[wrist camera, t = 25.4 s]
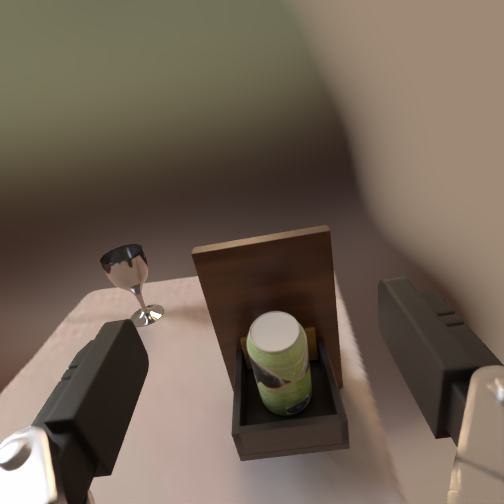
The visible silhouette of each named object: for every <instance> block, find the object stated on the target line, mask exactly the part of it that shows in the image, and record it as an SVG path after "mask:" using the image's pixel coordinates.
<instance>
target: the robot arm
mask: <svg viewBox="0 0 504 504" xmlns="http://www.w3.org/2000/svg"><path fill="white" fill-rule="evenodd" d="M378 320H379V327H380V331H381V335H382V337H383V340H384V342H385V343H386V345H387V347H388V349H389V351H390V353H391V355H392V357H393V359H394V361H395V362H396V364H397V366H398V368H399V370H400V372H401V374H402V376H403V378H404V380H405V381H406V383H407V385H408V387H409V389H410V391H411V393H412V395H413V397H414V398H415V400H416V402H417V404H418V406H419V408H420V410H421V412H422V414H423V416H424V417H425V419H426V421H427V423H428V425H429V427H430V429H431V431H432V433H433V435H434V436H435V438H436V439H439V438H447V437H452V439H453V441H454V443H455V444H456V446H457V452H456V456H455V460H454V466H453V470H452V475H451V480H450V485H449V490H448V495H447V500H446V504H504V365H503V364H502V363H501V362H500V361H499V359H497V357H496V356H495V355H494V354H493V353H492V352H491V351H490V350H489V349H488V347H487V346H486V345H485V344H484V343H483V342H482V341H481V340H480V339H479V338H478V337H477V335H476V334H475V333H474V332H473V331H472V330H471V329H470V328H469V327H468V325H467V324H466V325H465V324H464V321H463V320H462V319H461V318H460V317H459V316H458V314H455V311H454V310H453V309H452V308H451V307H450V306H449V305H448V303H447V302H446V301H445V300H444V299H442V298H440V297H439V296H437V295H435V294H433V293H431V292H430V291H428V290H425V291H419V292H418V290H417V289H416V288H415V287H414V286H413V284H412V283H411V282H410V281H409V280H408V278H406V277H400V278H394V279H387V280H381V281H379V284H378ZM148 367H149V360H148V354H147V352H146V349H145V347H144V345H143V343H142V340H141V338H140V336H139V334H138V332H137V329H136V327H135V325H134V323H133V321H132V320H130V319H126V320H119V321H113V322H107V323H105V324H104V325H103V326H102V328H101V330H100V331H99V333H98V334H97V336H96V338H95V339H94V340H91V341H90V342H89V343H88V344H87V345H86V346H85V347H84V348H83V349H81V350H80V351H79V352H78V353H77V355H76V356H75V358H74V359H73V361H72V362H71V364H70V366H69V369H68V370H66V372H65V373H64V375H63V376H62V378H61V381H59V383H58V384H57V386H56V387H55V389H54V390H53V392H52V394H51V395H50V397H49V398H48V400H47V401H46V403H45V404H44V406H43V408H42V409H41V411H40V412H39V414H38V415H37V417H36V418H35V420H34V421H33V423H32V425H31V426H30V427H26V428H23V429H20V430H18V431H16V432H14V433H12V434H11V435H9V436H8V437H6V438H5V439H4V440H2V441H1V442H0V504H95V502H94V498H93V495H92V493H91V491H90V490H89V488H90V485H91V482H92V480H93V477H101V476H109V475H111V474H112V471H113V468H114V465H115V463H116V460H117V457H118V454H119V451H120V448H121V446H122V443H123V440H124V437H125V434H126V432H127V429H128V426H129V423H130V420H131V418H132V415H133V412H134V409H135V406H136V404H137V401H138V398H139V395H140V392H141V390H142V387H143V384H144V381H145V378H146V375H147V373H148Z"/></svg>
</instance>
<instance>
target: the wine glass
mask: <svg viewBox="0 0 504 504" xmlns="http://www.w3.org/2000/svg"><path fill="white" fill-rule="evenodd" d="M100 262H101V264H102V267H103V268H104V271H105V272H106V274H107V276H108V277H109V279H110V280H111V281H112V282H113V284H115V285H116V286H117V287H119V288H121V289H124V290H127V291H129V292H131V293H133V294H134V295H135V296H136V298H137V299H138V301H139V303H140V305H141V307H142V308H141V309H139V310H138V311H136V312H135V313H134V314H133V315H132V317H131V319H130V320H132V321H133V323H134V325H135V326H145V325H149V324H151V323H153V322H155V321H156V320H157V319H159V318H160V317H161V315H162V314H163V311H164V309H163V307H162V306H160V305H148V306H145V304H144V301H143V297H142V293H141V291H142V286H143V284H144V282H145V280H146V277H147V274H148V266H147V261H146V257H145V254H144V251H143V249H142V246H141V245H138V244H131V245H126V246H122V247H119V248H116V249H114V250H111V251H110V252H108V253H106V254H105V255H104V256H103V257H102V258H101V260H100Z"/></svg>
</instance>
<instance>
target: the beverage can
mask: <svg viewBox="0 0 504 504" xmlns="http://www.w3.org/2000/svg"><path fill="white" fill-rule="evenodd" d="M246 346H247V350H248V354H249V357H250V361H251V364H252V368H253V371H254V375H255V378H256V382H257V385H258V389H259V393H260V396H261V399H262V402H263V404H264V405H265V406H266V408H267V409H269V410H270V411H271V412H273V413H275V414H277V415H281V416H290V415H294V414H297V413H299V412H301V411H302V410H303V409H305V407H306V406H307V405H308V403H309V402H310V399H311V396H312V383H311V374H310V364H309V355H308V346H307V337H306V333H305V331H304V329H303V327H302V326H301V324H299V323H298V322H297V320H296V319H295V318H294V317H293V316H291V315H290V314H288V313H285V312H280V311H273V312H268V313H265V314H263V315H261V316H259V317H258V318H257V319H256V320H255V321H254V322H253V323H252V325H251V327H250V331H249V333H248V335H247V340H246Z"/></svg>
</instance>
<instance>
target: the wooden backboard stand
mask: <svg viewBox="0 0 504 504" xmlns="http://www.w3.org/2000/svg"><path fill="white" fill-rule="evenodd" d="M191 255H192V258H193V261H194V264H195V268H196V271H197V274H198V277H199V281H200V284H201V287H202V290H203V294H204V297H205V300H206V303H207V307H208V310H209V313H210V317H211V320H212V323H213V326H214V330H215V333H216V336H217V339H218V343H219V346H220V349H221V352H222V356H223V359H224V362H225V366H226V369H227V372H228V375H229V379H230V382H231V385H232V388H233V392H234V399H233V418H232V437H233V440H234V443H235V446H236V449H237V451H238V454H239V457H240V460H241V461H246V460H254V459H263V458H271V457H280V456H288V455H297V454H305V453H314V452H323V451H331V450H340V449H348V448H350V446H349V433H348V420H347V416H346V413H345V410H344V406H343V403H342V399H341V396H340V393H339V389H338V388H343V383H342V370H341V358H340V345H339V333H338V321H337V308H336V296H335V283H334V271H333V259H332V246H331V234H330V229H329V228H328V226H327V225H323V226H317V227H311V228H305V229H300V230H294V231H288V232H282V233H276V234H271V235H265V236H259V237H253V238H247V239H241V240H236V241H230V242H224V243H218V244H212V245H206V246H200V247H194V248H193V251H192V254H191ZM273 311H280V312H285V313H288V314H290V315H291V316H293V317H294V318H295V319H296V320H297V322H298V323H299V324H301V326H302V327H303V329H304V331H305V333H306V337H307V346H308V355H309V364H310V374H311V383H312V396H311V399H310V402H309V403H308V405H307V406H306V407H305V409H303V410H302V411H301V412H299V413H297V414H294V415H290V416H281V415H277V414H275V413H273V412H271V411H270V410H269V409H267V408H266V406H265V405H264V404H263V402H262V399H261V396H260V393H259V389H258V385H257V382H256V378H255V375H254V371H253V368H252V364H251V361H250V357H249V354H248V350H247V346H246V340H247V335H248V333H249V331H250V327H251V325H252V323H253V322H254V321H255V320H256V319H257V318H258V317H259V316H261V315H263V314H265V313H268V312H273Z"/></svg>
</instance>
